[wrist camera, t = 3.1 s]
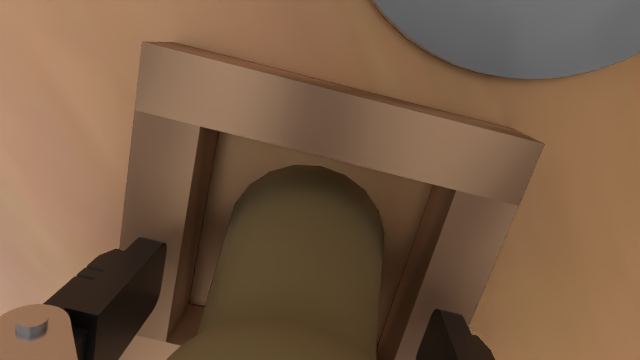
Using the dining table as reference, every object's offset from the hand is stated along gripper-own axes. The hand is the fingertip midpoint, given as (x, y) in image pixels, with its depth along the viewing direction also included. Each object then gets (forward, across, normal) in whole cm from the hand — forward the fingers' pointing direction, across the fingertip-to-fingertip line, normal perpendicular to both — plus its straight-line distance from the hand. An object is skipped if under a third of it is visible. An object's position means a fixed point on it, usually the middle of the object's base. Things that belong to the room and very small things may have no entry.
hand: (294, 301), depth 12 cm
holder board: (+4, 0, 0) cm, 4 cm away
